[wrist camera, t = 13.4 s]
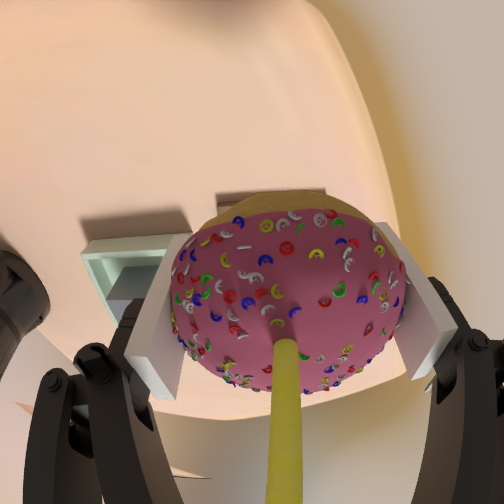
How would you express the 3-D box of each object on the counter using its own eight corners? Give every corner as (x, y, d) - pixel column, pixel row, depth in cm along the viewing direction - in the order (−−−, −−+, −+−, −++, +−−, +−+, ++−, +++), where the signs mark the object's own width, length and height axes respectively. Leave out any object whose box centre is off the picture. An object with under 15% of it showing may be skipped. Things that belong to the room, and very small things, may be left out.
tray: (125, 317, 38) (119, 332, 35) (91, 240, 30) (80, 254, 27) (211, 318, 37) (209, 336, 34) (192, 232, 29) (186, 247, 27)
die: (138, 302, 35) (124, 336, 30) (124, 266, 31) (105, 300, 26) (179, 302, 34) (169, 338, 29) (167, 264, 31) (152, 300, 26)
